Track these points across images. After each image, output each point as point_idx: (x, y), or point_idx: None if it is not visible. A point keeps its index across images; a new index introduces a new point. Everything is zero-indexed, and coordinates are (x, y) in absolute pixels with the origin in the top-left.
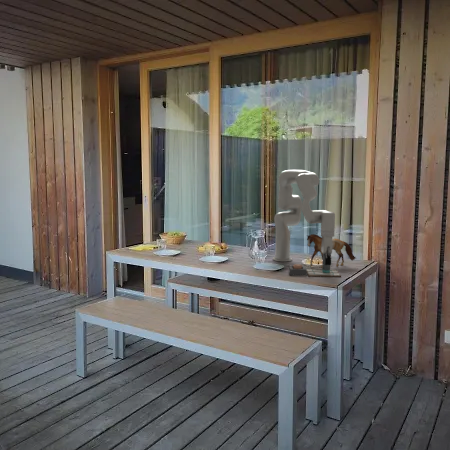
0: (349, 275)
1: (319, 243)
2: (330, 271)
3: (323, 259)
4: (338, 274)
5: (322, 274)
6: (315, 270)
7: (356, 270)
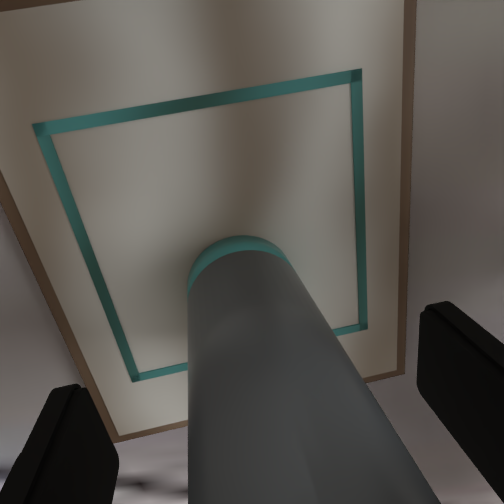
0: None
1: None
2: None
3: (222, 399)
4: (157, 417)
5: (78, 248)
6: (325, 131)
7: None
